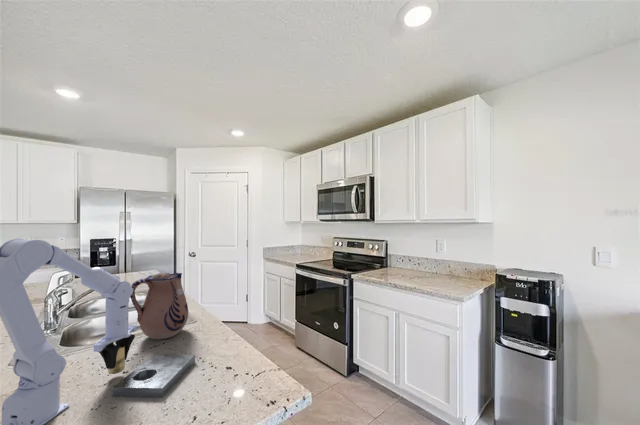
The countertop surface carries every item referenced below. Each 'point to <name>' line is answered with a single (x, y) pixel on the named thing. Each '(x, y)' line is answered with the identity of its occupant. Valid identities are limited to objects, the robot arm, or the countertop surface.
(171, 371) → the plate
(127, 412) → the countertop surface
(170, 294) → the ceramic pitcher
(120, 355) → the slip bushing
